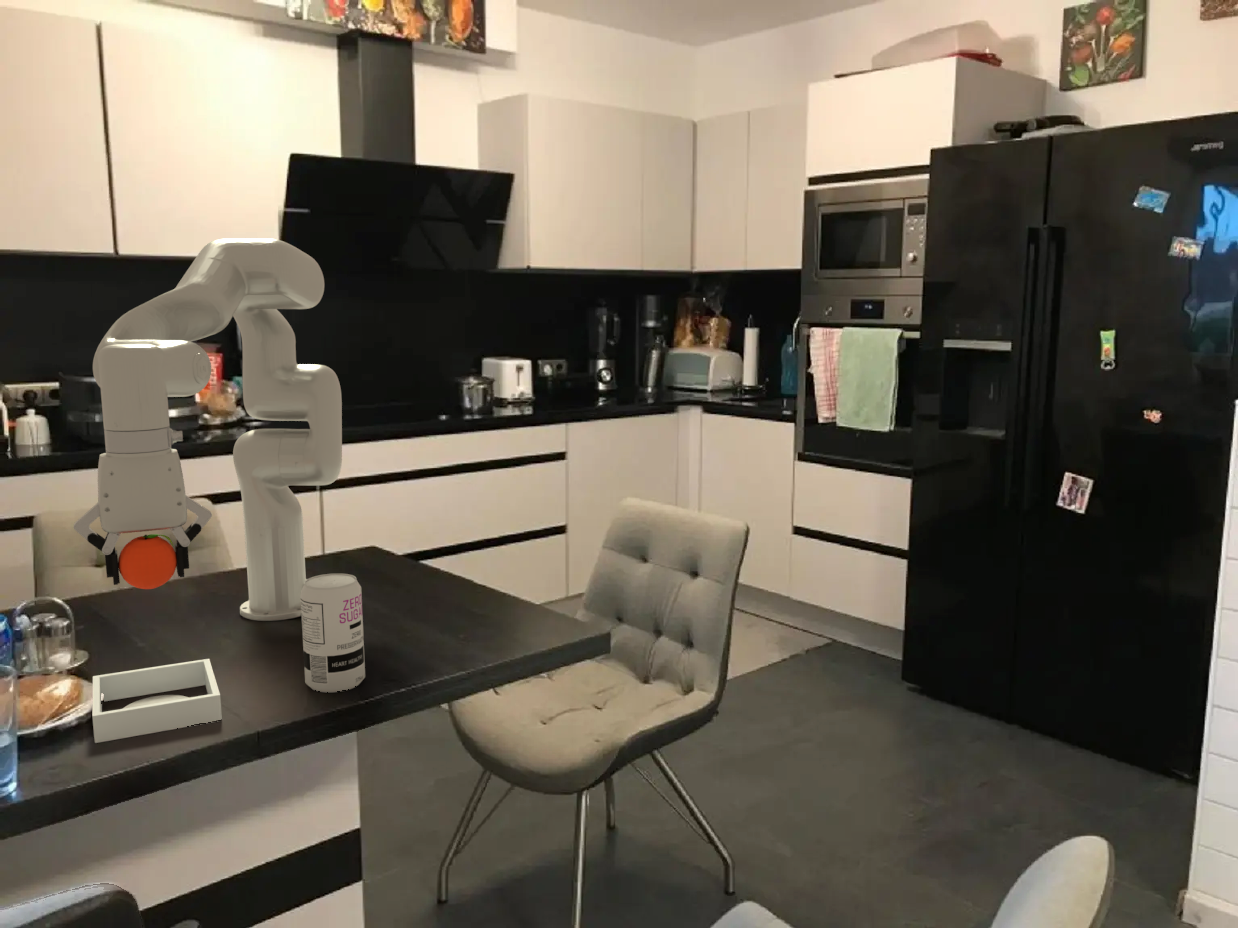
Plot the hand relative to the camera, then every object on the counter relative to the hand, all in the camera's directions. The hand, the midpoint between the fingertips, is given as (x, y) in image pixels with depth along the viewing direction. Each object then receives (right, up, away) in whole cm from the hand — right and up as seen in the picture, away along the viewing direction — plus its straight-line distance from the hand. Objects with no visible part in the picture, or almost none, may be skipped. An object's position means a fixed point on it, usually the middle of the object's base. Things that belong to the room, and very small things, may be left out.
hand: (148, 577), depth 131 cm
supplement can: (+21, -16, +12) cm, 29 cm away
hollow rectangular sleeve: (0, -18, +3) cm, 18 cm away
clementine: (0, -1, +1) cm, 2 cm away
